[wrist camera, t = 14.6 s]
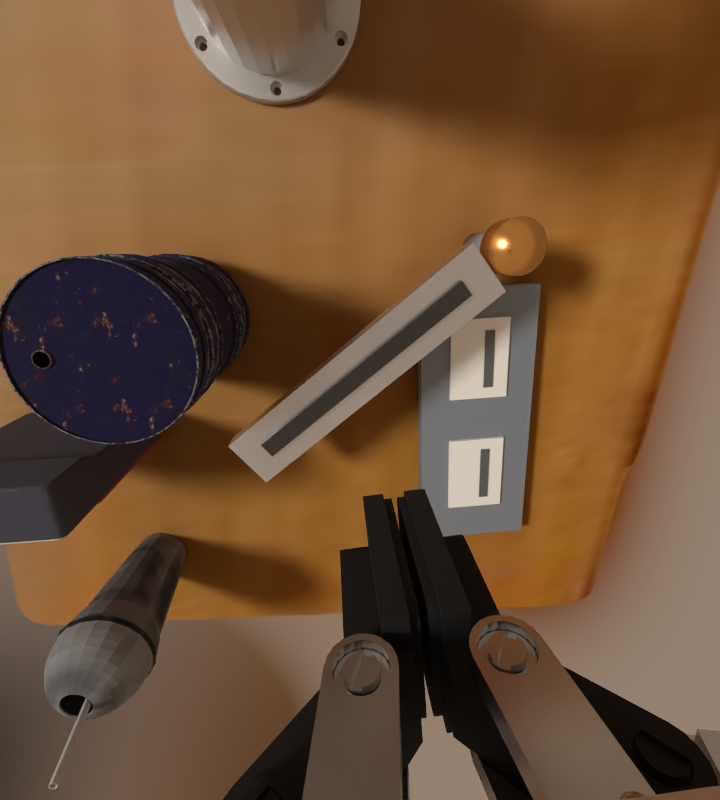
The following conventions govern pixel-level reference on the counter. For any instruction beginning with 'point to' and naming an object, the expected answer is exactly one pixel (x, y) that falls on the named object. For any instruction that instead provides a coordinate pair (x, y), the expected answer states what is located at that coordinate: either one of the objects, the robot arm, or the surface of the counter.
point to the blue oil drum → (120, 340)
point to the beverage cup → (113, 638)
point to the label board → (480, 415)
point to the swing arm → (390, 345)
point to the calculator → (55, 478)
